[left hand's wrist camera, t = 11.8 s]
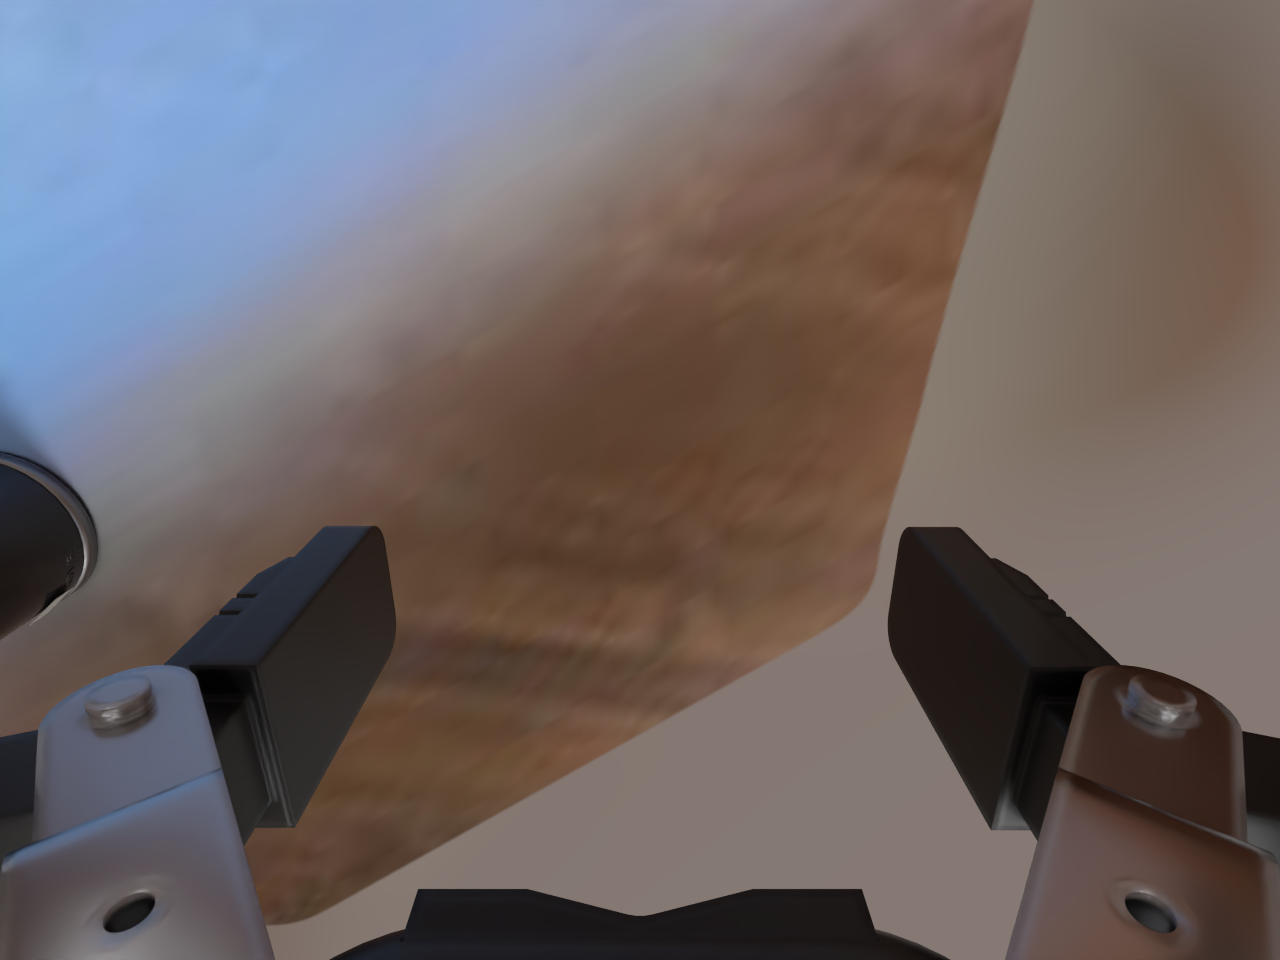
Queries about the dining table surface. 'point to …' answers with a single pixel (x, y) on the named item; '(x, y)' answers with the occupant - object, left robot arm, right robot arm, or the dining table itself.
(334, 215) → the dining table surface
